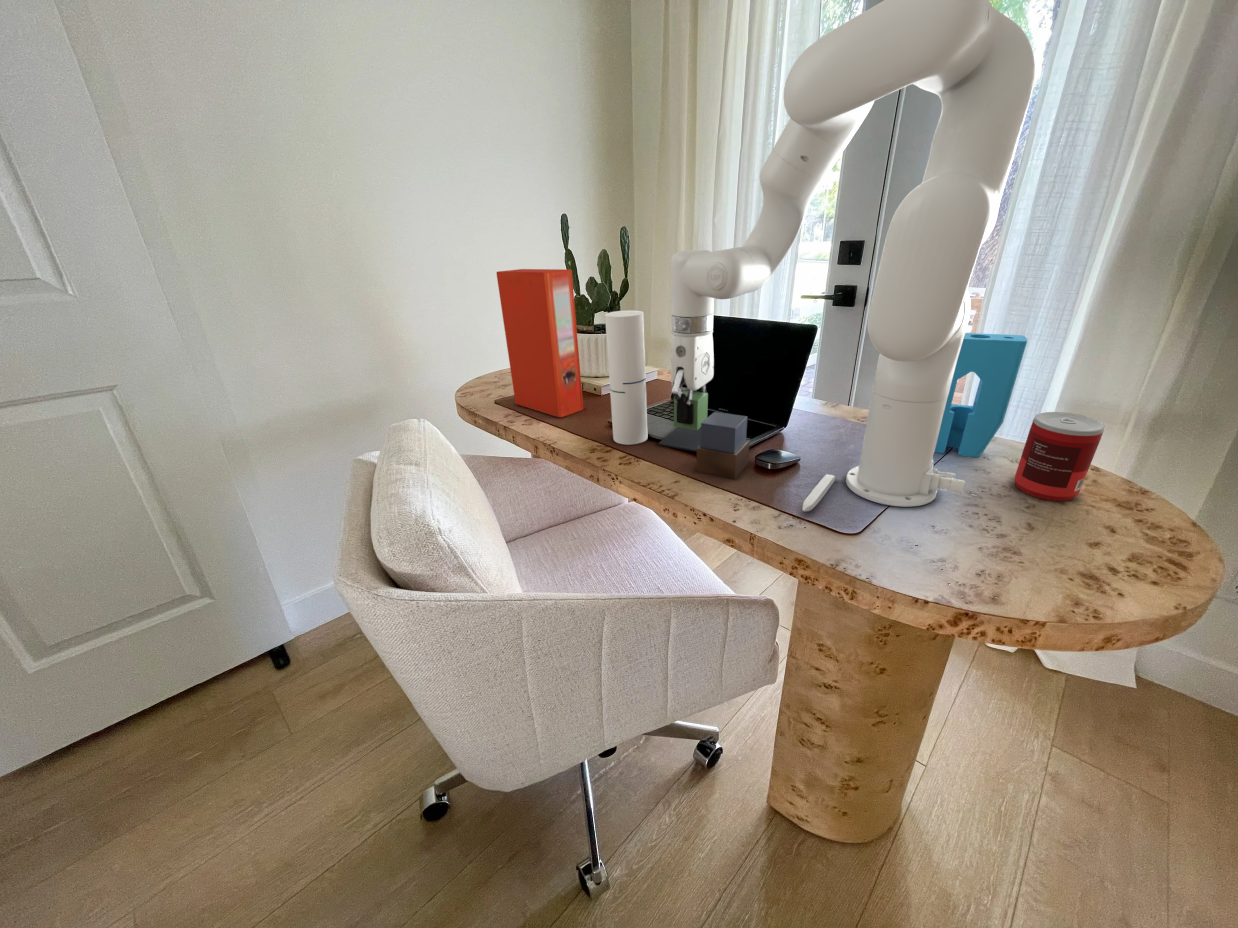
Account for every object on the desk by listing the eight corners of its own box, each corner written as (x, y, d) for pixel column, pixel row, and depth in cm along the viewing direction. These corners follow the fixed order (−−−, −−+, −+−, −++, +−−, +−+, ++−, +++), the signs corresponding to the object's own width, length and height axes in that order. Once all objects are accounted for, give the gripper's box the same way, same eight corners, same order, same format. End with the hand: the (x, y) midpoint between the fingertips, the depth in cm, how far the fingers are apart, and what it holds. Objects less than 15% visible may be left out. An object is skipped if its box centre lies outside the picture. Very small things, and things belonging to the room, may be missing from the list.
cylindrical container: (648, 443, 98) (643, 315, 87) (612, 445, 99) (604, 317, 88) (647, 430, 105) (642, 309, 94) (613, 432, 105) (605, 311, 94)
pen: (796, 516, 71) (797, 506, 70) (826, 478, 81) (828, 469, 80) (807, 519, 70) (808, 509, 69) (836, 481, 80) (838, 471, 79)
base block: (748, 462, 88) (749, 439, 86) (734, 479, 83) (736, 455, 81) (711, 456, 91) (712, 433, 89) (696, 471, 86) (696, 448, 84)
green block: (707, 421, 98) (708, 393, 95) (697, 430, 94) (697, 400, 92) (684, 418, 100) (684, 390, 98) (673, 426, 97) (673, 397, 94)
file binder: (540, 396, 131) (523, 268, 117) (584, 408, 120) (571, 269, 106) (515, 405, 126) (495, 272, 112) (559, 418, 115) (542, 272, 101)
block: (990, 448, 87) (1024, 335, 79) (992, 459, 83) (1028, 341, 75) (913, 438, 93) (937, 331, 84) (912, 448, 89) (936, 337, 81)
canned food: (1061, 478, 76) (1085, 412, 72) (1089, 504, 69) (1119, 432, 65) (1003, 475, 78) (1024, 410, 74) (1026, 500, 72) (1050, 430, 67)
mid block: (746, 440, 86) (747, 416, 84) (734, 453, 81) (735, 428, 79) (713, 435, 89) (714, 411, 87) (700, 447, 84) (700, 423, 82)
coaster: (724, 435, 100) (724, 433, 100) (705, 453, 92) (705, 451, 92) (679, 427, 105) (679, 426, 105) (658, 445, 97) (658, 443, 97)
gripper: (691, 335, 81) (690, 436, 89) (728, 317, 93) (724, 407, 101) (651, 332, 84) (653, 430, 92) (692, 315, 97) (691, 402, 105)
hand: (690, 417), depth 97 cm, fingers closed on green block, 5 cm apart
